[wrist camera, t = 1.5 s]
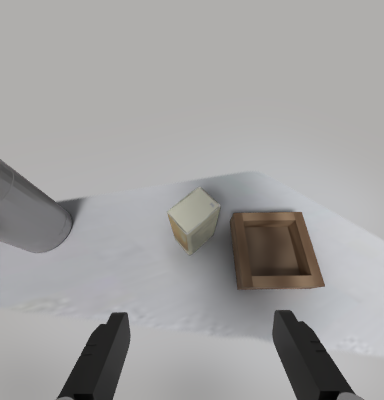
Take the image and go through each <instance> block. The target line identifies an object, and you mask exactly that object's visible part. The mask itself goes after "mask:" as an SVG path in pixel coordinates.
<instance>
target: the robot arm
mask: <svg viewBox="0 0 384 400" xmlns="http://www.w3.org/2000/svg"><path fill="white" fill-rule="evenodd" d="M71 226H72V219H71V216H70V214H69V213H68V212H67V211H66V210H65V209H64V208H62V207H61V206H60V205H59V204H57V203H56V202H55V201H54V200H52V199H51V198H50V197H48V196H47V195H46V194H45V193H43V192H42V191H41V190H39V189H38V188H37V187H36V186H34V185H33V184H32V183H30V182H29V181H28V180H27V179H25V178H24V177H23V176H21V175H20V174H19V173H18V172H16V171H15V170H14V169H12V168H11V167H10V166H8V165H7V164H5V163H4V162H3V161H2V160H1V159H0V241H1V242H4V243H7V244H10V245H12V246H15V247H18V248H21V249H24V250H26V251H29V252H33V253H42V252H46V251H49V250H52V249H53V248H55V247H57V246H58V245H59V244H60V243H62V242H63V241H64V239H65V238H66V237H67V235H68V234H69V232H70V230H71ZM272 335H273V341H274V345H275V347H276V350H277V352H278V355H279V357H280V359H281V362H282V364H283V367H284V369H285V371H286V374H287V376H288V378H289V381H290V383H291V386H292V388H293V391H294V393H295V395H296V398H297V400H364V399H362V398H361V397H359V396H357V395H356V394H355V393H354V392H353V390H352V389H351V387H350V386H349V384H348V383H347V382H346V380H345V378H344V377H343V375H342V374H341V372H340V371H339V369H338V367H337V366H336V364H335V363H334V361H333V360H332V358H331V357H330V355H329V354H328V353H327V352H326V349H325V348H324V346H323V345H322V343H320V340H319V339H318V337H317V336H316V334H315V333H314V331H313V330H312V329H311V328H310V327H309V326H308V325H307V324H305V323H304V322H303V321H300V322H298V321H297V319H296V317H295V316H294V314H293V312H292V311H290V310H276V311H275V314H274V323H273V331H272ZM129 344H130V328H129V320H128V314H127V312H119V313H112V314H111V316H110V318H109V320H108V322H107V324H100V325H99V326H98V327H97V329H96V330H95V331H94V332H93V333H92V334H91V336H90V338H89V340H88V342H87V344H86V346H85V347H84V349H83V351H82V353H81V356H80V357H79V359H78V361H77V362H76V364H75V366H74V368H73V370H72V372H71V374H70V376H69V378H68V379H67V381H66V383H65V385H64V387H63V389H62V391H61V393H60V394H59V396H58V398H57V399H56V400H113V396H114V393H115V390H116V387H117V384H118V380H119V377H120V374H121V370H122V367H123V364H124V361H125V358H126V355H127V351H128V348H129Z"/></svg>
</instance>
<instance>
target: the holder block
mask: <svg viewBox="0 0 384 400" xmlns="http://www.w3.org/2000/svg"><path fill="white" fill-rule="evenodd" d="M230 227H231V236H232V245H233V253H234V262H235V271H236V279H237V288H238V290H248V289H311V288H317V287H323V286H325V284H324V281H323V278H322V275H321V272H320V268H319V265H318V262H317V259H316V256H315V253H314V250H313V246H312V243H311V240H310V237H309V234H308V231H307V227H306V224H305V221H304V218H303V215H302V212H270V213H233V216H232V218H231V220H230Z"/></svg>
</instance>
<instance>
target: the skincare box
mask: <svg viewBox="0 0 384 400" xmlns="http://www.w3.org/2000/svg"><path fill="white" fill-rule="evenodd" d="M220 207H221V205H220V204H219V203H218V202H217V201H216V200H214V199H213V198H212V197H211V196H210V195H209V194H208V193H207V192H206V191H205V190H203V189H202V188H201V187H198V188H197V189H195V190H194V191H192V192H191V193H190V194H188V195H187V196H186V197H185V198H183V199H182V200H181V201H180V202H178V203H177V204H176V205H175V206H173V207H172V208H171V209H170V210H169V211H167V214H168V217H169V220H170V223H171V226H172V230H173V233H174V236H175V239H176V240H177V242H178V243H179V244H180V245H181V247H182V248H183V249H184V250H185V251H186V252H187V254H188V255H192V254H193V253H194V252H195V251H196V250H197V249H199V248H200V247H201V246H202V245H203V244H204V243H205V242H206V241H207V240H208V239H209V238H210V237H211V236H213V234H214V231H215V227H216V223H217V219H218V215H219V211H220Z"/></svg>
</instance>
